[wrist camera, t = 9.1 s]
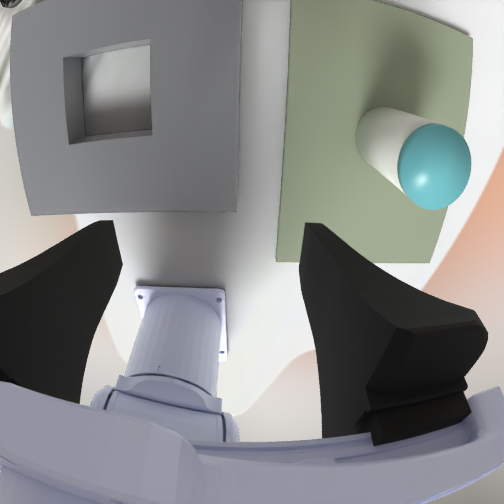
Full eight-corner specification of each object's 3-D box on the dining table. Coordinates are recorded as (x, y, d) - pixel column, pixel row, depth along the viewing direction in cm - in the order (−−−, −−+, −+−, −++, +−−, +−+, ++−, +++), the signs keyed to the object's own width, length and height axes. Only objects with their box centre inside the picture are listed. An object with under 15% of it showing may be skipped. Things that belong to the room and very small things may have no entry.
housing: (237, 197, 21) (236, 212, 19) (47, 202, 21) (31, 215, 19) (243, -27, 13) (242, -40, 10) (31, 17, 12) (12, 15, 10)
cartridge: (421, 131, 18) (482, 160, 12) (389, 178, 20) (439, 223, 14) (376, 93, 16) (434, 107, 11) (343, 146, 19) (385, 181, 13)
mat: (426, 259, 24) (429, 263, 24) (275, 257, 24) (276, 261, 23) (468, 38, 14) (472, 38, 13) (290, -12, 13) (292, -15, 13)
